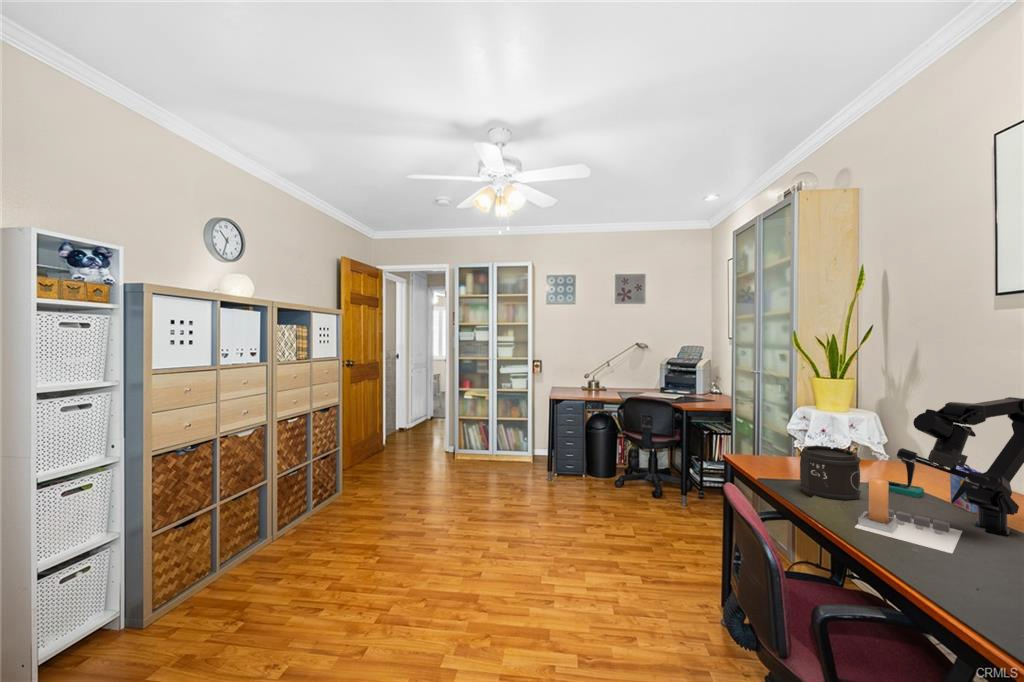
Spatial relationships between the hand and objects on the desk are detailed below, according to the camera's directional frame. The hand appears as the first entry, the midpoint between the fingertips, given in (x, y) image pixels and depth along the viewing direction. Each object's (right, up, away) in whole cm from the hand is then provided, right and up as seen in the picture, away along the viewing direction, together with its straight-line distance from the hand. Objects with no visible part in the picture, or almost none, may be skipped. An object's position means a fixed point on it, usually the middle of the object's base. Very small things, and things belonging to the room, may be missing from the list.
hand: (929, 495), depth 124 cm
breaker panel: (-6, -11, 0) cm, 12 cm away
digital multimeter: (+21, -11, +35) cm, 42 cm away
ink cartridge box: (+31, -11, +18) cm, 37 cm away
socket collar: (-12, -10, +3) cm, 16 cm away
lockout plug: (-12, -10, +3) cm, 16 cm away
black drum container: (-6, -11, +31) cm, 34 cm away
